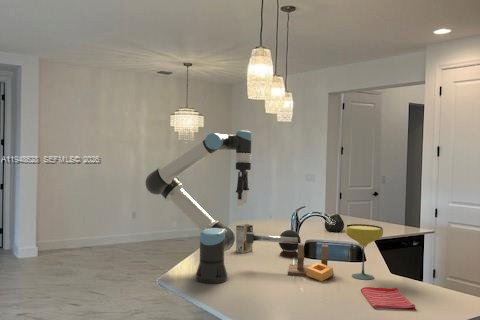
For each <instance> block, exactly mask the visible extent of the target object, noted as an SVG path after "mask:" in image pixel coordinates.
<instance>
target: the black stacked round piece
mask: <svg viewBox="0 0 480 320" xmlns="http://www.w3.org/2000/svg"><path fill="white" fill-rule="evenodd" d="M279 237H297V238H298V243H302V241H301V236H300V235H299V233H298V232H297V231H294V230H292V229H288V230H287V229H286V230H285V231H283V232H282V233H280V234H279ZM298 243H281V242H278V244H279V247H280V248H281V250H282V251H281V252H279V255H280V256H281V257H284V258H298Z"/></svg>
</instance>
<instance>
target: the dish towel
mask: <svg viewBox="0 0 480 320" xmlns="http://www.w3.org/2000/svg"><path fill="white" fill-rule="evenodd" d="M360 292H361V294H362V295H363V296H364V297H365V299H366V301H367V302H368V303H369V304H370V306H371V307H372V308H373V309H375V310H388V311H389V310H390V311H393V310H394V311H412V312H413V311H415V312H416V311H417V308H416V305H415V304H414V303H412V302H411V301H409V300H408V299H407V298H406V297H405V296H404V295H403V294H402V293H401V291H399V289H398V288H397V287H395V288H394V287H392V288H386V287H373V286H372V287H370V286H364V287H362V288H361V289H360Z"/></svg>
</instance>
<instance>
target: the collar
mask: <svg viewBox="0 0 480 320" xmlns="http://www.w3.org/2000/svg"><path fill="white" fill-rule="evenodd" d="M308 266H309V267H307V276H306V277H308V278H309V277H310V278H312V279H315V280H318V281H319V282H323V281H325V280H327V279H330V278H329V277H330V276H332V275H333V274H334V273H333V272H334V268H333V267H332V266H329V265H328V264H327V265H324V264H322V263H321V262H318V261H317V262H315V263H313V264H310V265H308ZM333 276H334V275H333Z"/></svg>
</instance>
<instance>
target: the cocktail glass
mask: <svg viewBox="0 0 480 320" xmlns="http://www.w3.org/2000/svg"><path fill="white" fill-rule="evenodd" d="M345 234H346V235H347V236H348V237H349V238H350V239H352V240H354V241H356V242H357V243H359V245H360V247H362V262H361V263H362V264H361V273H358V272H357V273H353V274H351V277H352V278H353V279H357V280H362V281H370V280H374V279H375V277H374V276H373V275H372V274H368V273H365V248H366V247H367V246H368V245H369V244H371V243H373V242H375V241H377V240H379V239H380V238H382V237H383V236H384V228H383V227H382V226H379V225H375V224H374V225H372V224H366V223H365V224H362V223H361V224H359V223H353V224H347V225H346V226H345Z"/></svg>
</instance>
